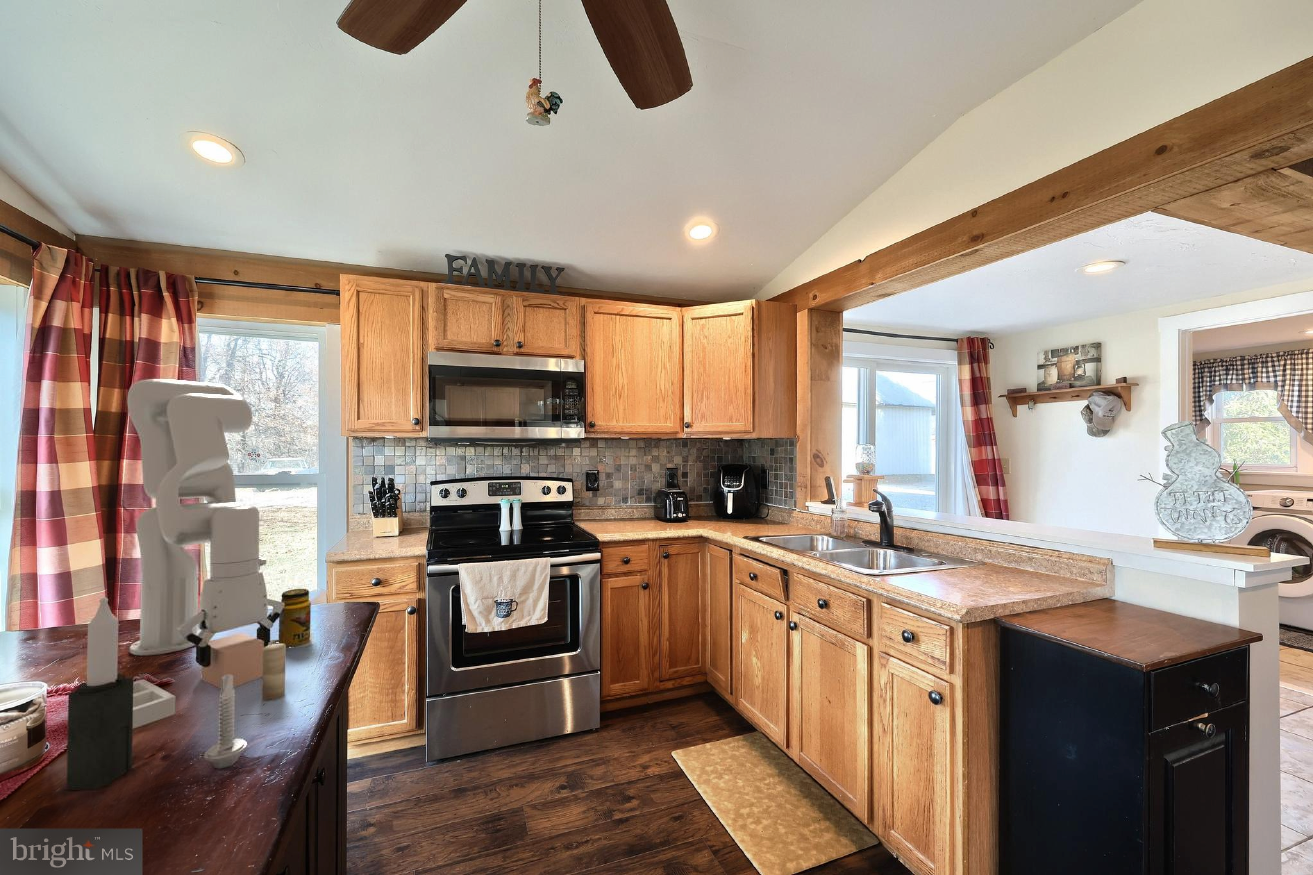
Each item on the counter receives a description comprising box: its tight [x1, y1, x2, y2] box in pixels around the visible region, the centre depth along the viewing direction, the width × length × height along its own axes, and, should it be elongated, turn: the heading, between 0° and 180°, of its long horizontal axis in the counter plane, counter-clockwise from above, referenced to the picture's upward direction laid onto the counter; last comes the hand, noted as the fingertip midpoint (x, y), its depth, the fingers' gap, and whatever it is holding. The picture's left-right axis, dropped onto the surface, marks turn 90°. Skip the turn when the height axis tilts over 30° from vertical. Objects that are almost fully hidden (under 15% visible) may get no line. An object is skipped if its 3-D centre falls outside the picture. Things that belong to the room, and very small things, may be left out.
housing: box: [200, 632, 264, 689], centre depth 103 cm, size 9×6×7 cm
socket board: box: [133, 678, 176, 730], centre depth 90 cm, size 13×7×3 cm, turn 62°
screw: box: [203, 674, 248, 770], centre depth 77 cm, size 13×5×5 cm
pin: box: [261, 644, 287, 702], centre depth 96 cm, size 3×3×9 cm
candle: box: [66, 597, 135, 791], centre depth 73 cm, size 5×5×25 cm
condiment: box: [269, 588, 313, 650], centre depth 121 cm, size 7×8×12 cm
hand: (234, 656), depth 103 cm, fingers open, 9 cm apart
